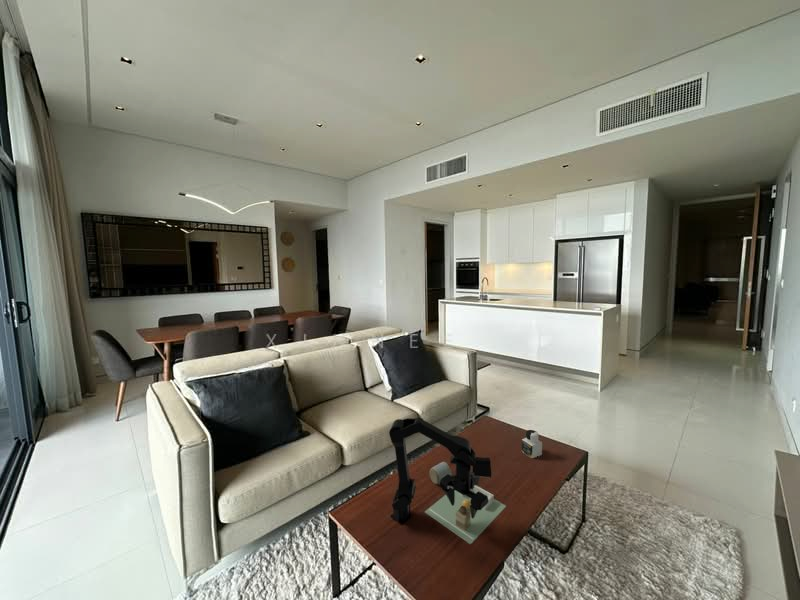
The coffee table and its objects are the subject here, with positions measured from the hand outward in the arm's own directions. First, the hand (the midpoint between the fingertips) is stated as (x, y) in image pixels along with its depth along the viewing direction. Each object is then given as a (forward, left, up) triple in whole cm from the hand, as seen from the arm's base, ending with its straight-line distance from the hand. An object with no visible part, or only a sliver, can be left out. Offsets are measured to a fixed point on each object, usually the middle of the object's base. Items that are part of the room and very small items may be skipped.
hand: (462, 511), depth 125 cm
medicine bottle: (+65, +2, -6) cm, 65 cm away
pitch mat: (+8, +4, -6) cm, 10 cm away
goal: (+16, +4, -6) cm, 17 cm away
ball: (+8, +4, -4) cm, 10 cm away
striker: (0, 0, -6) cm, 6 cm away
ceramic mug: (+14, +21, -6) cm, 26 cm away
